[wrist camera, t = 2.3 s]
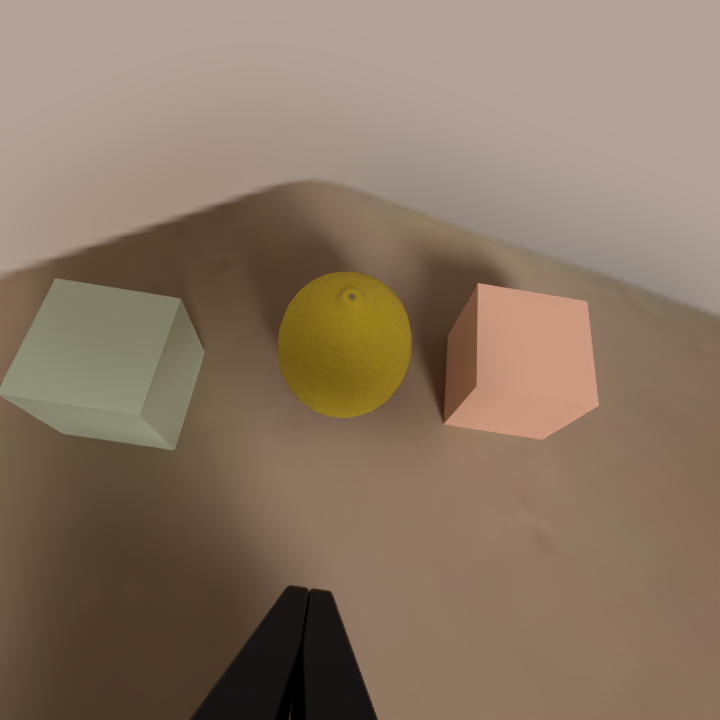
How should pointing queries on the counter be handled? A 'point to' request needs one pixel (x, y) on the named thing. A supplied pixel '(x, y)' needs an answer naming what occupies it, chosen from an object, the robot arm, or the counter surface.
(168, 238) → the counter surface
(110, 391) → the sage block
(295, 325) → the lemon
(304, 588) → the robot arm
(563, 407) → the terracotta block
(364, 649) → the counter surface
